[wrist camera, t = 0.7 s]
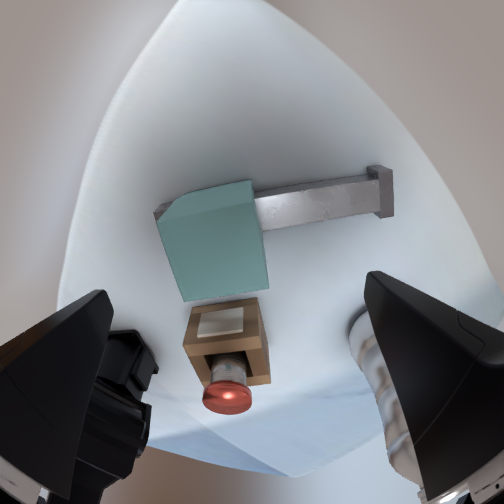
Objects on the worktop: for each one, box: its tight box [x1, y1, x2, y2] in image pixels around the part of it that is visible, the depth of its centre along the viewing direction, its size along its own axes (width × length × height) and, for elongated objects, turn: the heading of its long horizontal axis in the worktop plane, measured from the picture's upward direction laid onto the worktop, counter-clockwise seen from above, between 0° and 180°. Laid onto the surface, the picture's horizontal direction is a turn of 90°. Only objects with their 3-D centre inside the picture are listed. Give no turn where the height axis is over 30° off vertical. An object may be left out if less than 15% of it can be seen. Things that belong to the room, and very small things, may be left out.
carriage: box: [156, 180, 269, 302], centre depth 18 cm, size 5×5×7 cm
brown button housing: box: [183, 298, 271, 388], centre depth 24 cm, size 6×6×5 cm
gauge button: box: [202, 350, 252, 415], centre depth 21 cm, size 4×4×6 cm
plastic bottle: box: [349, 311, 469, 504], centre depth 17 cm, size 6×7×20 cm
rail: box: [153, 165, 394, 232], centre depth 20 cm, size 17×4×2 cm, turn 101°
